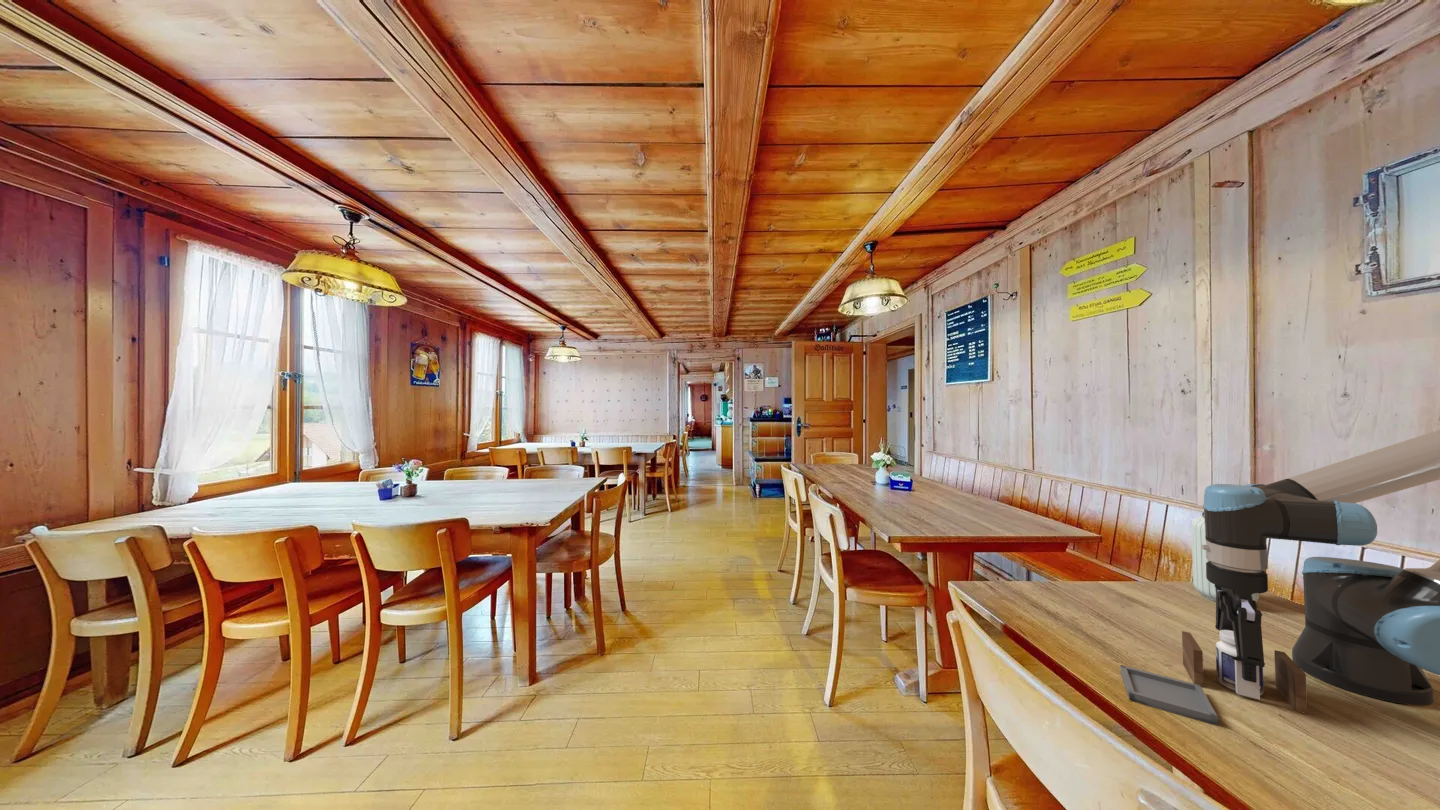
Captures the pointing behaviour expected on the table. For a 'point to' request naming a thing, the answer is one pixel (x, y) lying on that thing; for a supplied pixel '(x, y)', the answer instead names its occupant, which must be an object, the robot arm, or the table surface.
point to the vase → (1203, 561)
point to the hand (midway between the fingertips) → (1239, 683)
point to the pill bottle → (1229, 661)
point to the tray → (1168, 694)
